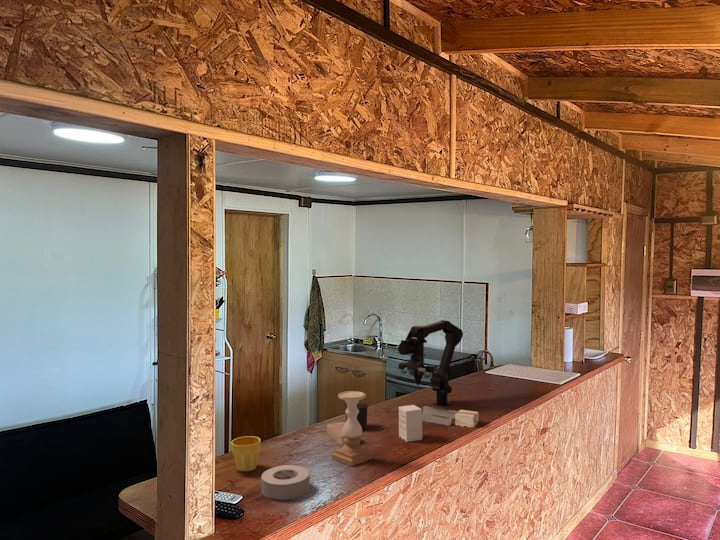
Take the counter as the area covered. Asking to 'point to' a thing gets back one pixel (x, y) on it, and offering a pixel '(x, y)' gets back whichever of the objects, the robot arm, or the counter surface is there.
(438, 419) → the chute
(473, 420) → the block
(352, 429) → the candle holder
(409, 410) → the supplement box
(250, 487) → the counter surface
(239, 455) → the plant pot
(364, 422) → the pen holder
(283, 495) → the tape roll
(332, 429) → the brick
